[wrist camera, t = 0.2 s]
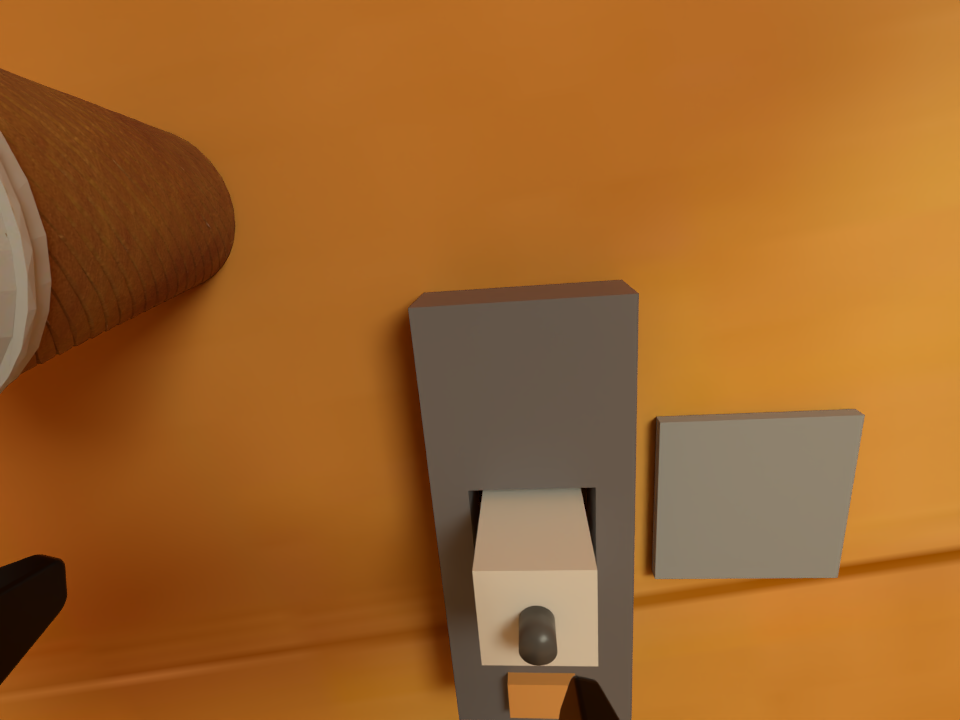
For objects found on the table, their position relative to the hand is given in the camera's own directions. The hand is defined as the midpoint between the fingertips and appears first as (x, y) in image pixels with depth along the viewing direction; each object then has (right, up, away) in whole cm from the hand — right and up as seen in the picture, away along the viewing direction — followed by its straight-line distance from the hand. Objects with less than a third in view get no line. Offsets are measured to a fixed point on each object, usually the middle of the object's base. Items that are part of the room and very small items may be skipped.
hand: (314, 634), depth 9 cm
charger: (+5, -2, +15) cm, 16 cm away
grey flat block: (+5, -2, +15) cm, 16 cm away
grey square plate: (+15, -1, +14) cm, 20 cm away
